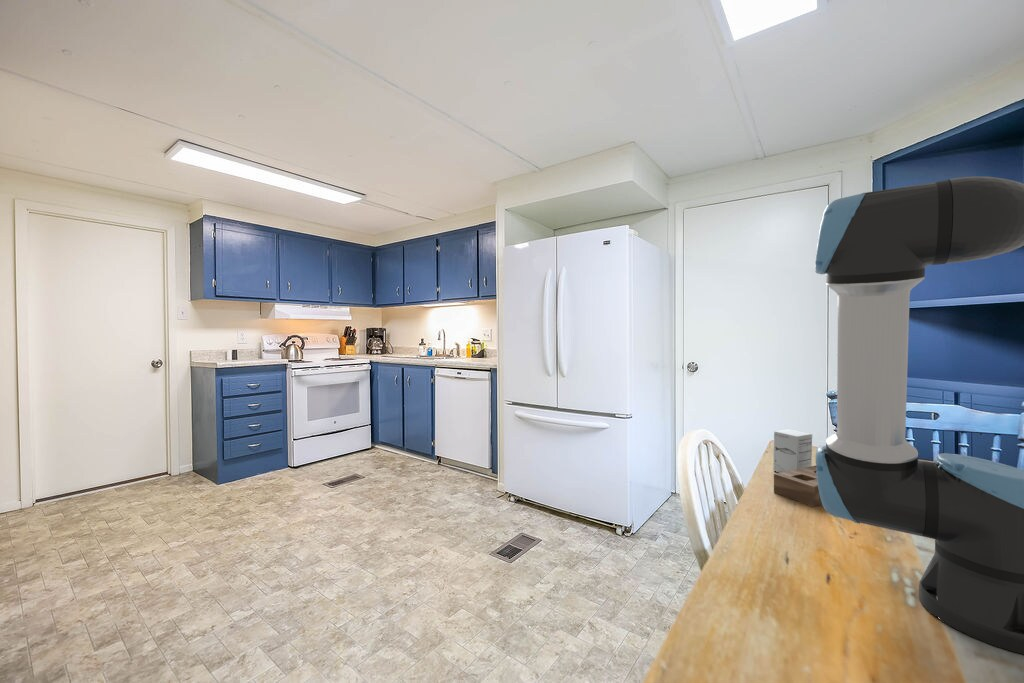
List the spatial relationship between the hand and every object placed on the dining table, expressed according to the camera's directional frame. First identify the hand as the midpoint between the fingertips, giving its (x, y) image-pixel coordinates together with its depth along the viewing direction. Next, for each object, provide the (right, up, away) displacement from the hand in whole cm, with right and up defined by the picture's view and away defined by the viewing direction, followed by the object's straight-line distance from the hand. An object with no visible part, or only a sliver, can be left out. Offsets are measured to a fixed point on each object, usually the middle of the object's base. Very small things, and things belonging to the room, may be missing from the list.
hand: (869, 386), depth 101 cm
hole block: (-6, -30, +10) cm, 32 cm away
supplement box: (-1, -30, +26) cm, 39 cm away
